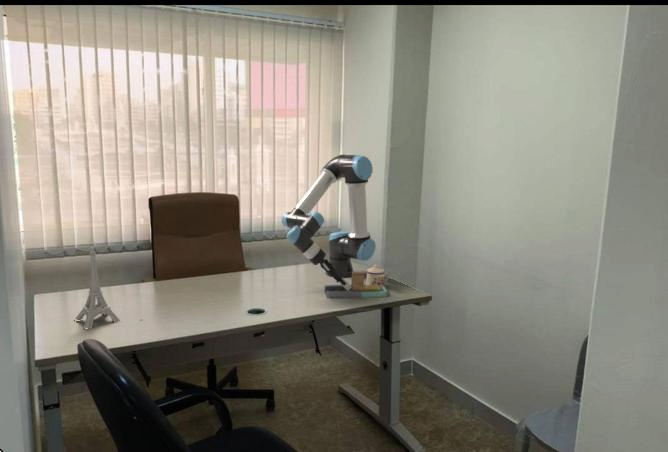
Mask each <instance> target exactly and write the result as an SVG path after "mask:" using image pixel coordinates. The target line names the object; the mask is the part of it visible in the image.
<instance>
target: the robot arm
mask: <svg viewBox="0 0 668 452" xmlns="http://www.w3.org/2000/svg"><path fill="white" fill-rule="evenodd" d="M373 168H374V167H373V164H372V162H371V160H370V159H369V158H368V157H367V156H365V155H360V154H339V155H337V156H334V157H333V158H331V160H329V161H328V162H327V163H326V164H325V165H324V166H323V167H322V168H321V170H320V172H319V173H320V174H319V176H318V177H317V178H316V179H315V181H314V182H313V183H312V184H311V185H310V187H309V188H308V189H307V191H306V192H305V193H304V194H303V196H302V197H301V198H300V200H299V201H298V202H297V204H296V205H295V206H294V208H293V209H292V210H291V211H288V212H284V213H283V215H282V216H281V223H282V226H283V227H285V228H288V229H289V231H288V232H287V233H286V239H287V240H288V242H290V243H291V245H293V246H294V247H295V248H296V249H297V250H299V252H301V254H302V255H303V256H302V257H306V259H308V260H309V262H310V263H311V264H312V265H313V266H317V265H318V264H320V265H319V266H320V267H321V268H322V269H323V270H324V271H325V275H326V276H329V277H331V278H333V279H334V280H335V281H336V282H335V283H339V285H342V286H343V287H344V288H345V289H346V290H347V291H348V290H349V289H350V288H351V287H352V286H351V284H350V283H349V282H348V281H347V280H346V279H345V278H347V277H348V278H349V277H352V271H354V268H353V264H352V260H351V259H354V260H358V261H366V262H367V261H369V260H370V259H371V258H372V257H373V255H374V254H375V252H376V242H375V241H374V239H372V237H371V232H369V231H368V219H367V215H368V214H367V196H366V195H367V194H366V185H367V184H368V182H369V179H370V178H371V177H372V174H373V170H374V169H373ZM342 178H343V179H344V184H346V185H347V187H348V189H347V190H348V205H349V207H348V208H349V209H348V210H349V225H350V228H349V229H350V230H348V231H345V230H343V231H335V232H332V233H330V234H329V240H328V259H325V258H326V255H327V254H326V252H325V251H324V250H323V249H322V248H320V246H319V244H317V243H316V242H315V241H314V240H313V239H312V238H313V237H314V235H315V234H316V233H317V232H318V231H319V230H320V229H321V228H322V226H323V225H324V223H325V218H324V216H323V215H322V213H320V212H318V211H312V210H313V209H314V208H316V207H315V206H316V205H317V204H318V202H319V201H320V200H321V198H322V197H323V196H324V195H325V194H326V192H327V191H328V190H329V188H331V186H332V184H335V183H336V182H337V181H338V180H339V179H342Z"/></svg>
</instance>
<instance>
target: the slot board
mask: <svg viewBox="0 0 668 452" xmlns="http://www.w3.org/2000/svg"><path fill="white" fill-rule="evenodd" d="M324 294H325V296H326V299H357V298H358V299H359V298H363V297H361V291H351V288H350V289H349V290H348V291H347V290H346V289H345V288H344V287H343V286H342V285H341V284H335V285H333V284H329V285H324Z"/></svg>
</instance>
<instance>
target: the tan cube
mask: <svg viewBox="0 0 668 452" xmlns="http://www.w3.org/2000/svg"><path fill="white" fill-rule="evenodd" d="M364 292H372V287H371V285H366V284H364Z"/></svg>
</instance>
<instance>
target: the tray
mask: <svg viewBox="0 0 668 452" xmlns="http://www.w3.org/2000/svg"><path fill="white" fill-rule="evenodd" d="M388 296H389V292H388V290H387V289H386V287H385V285H384V286H380V292H361V297H362V298H371V297H372V298H373V297H374V298H377V297H378V298H379V297H380V298H381V297H383V298H384V297H388Z"/></svg>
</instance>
